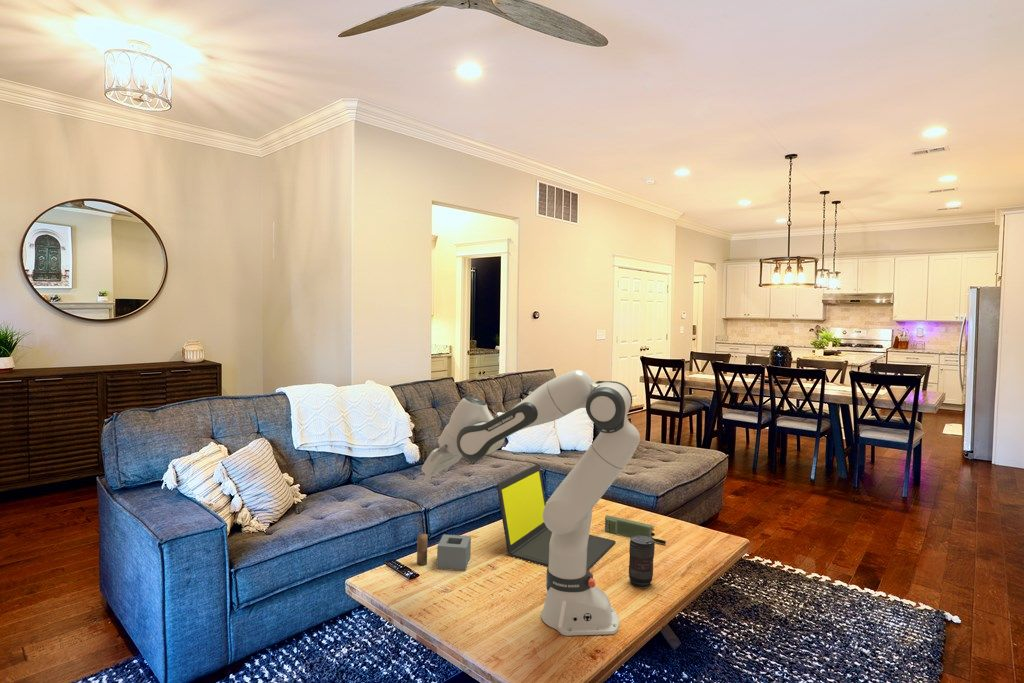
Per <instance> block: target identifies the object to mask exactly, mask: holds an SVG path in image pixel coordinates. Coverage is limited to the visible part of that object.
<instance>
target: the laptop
mask: <svg viewBox="0 0 1024 683" xmlns="http://www.w3.org/2000/svg"><path fill="white" fill-rule="evenodd" d="M496 488H497V494H498V501H499V508H500V514H501V520H502V525H503V526H502V527H503V532H504V537H505V538H504V539H505V544H506V550H507V551H506V552H507V555H508V556H509V557H510V556H511V558H513V557H515V558H514V559H517V558H519V559H518V560H521V559H522V560H521V561H524V560H526V561H525V562H528V561H530V562H529V563H531V562H533V563H532V564H535V563H536V564H535V565H538V564H540V565H539V566H542V565H543V567H545V566H546V568H548V566H549V543H550V539H551V535H552V531H550V530H549V529H548V528H547V527H546V525H545V523H544V520H543V511H544V507H545V505H546V503H547V501H546V494H545V488H544V484H543V477H542V471H541V464H540V463H539V464H538V463H537V464H535V465H532V466H530V467H528V468H526V469H524V470H522V471H519V472H518V473H516V474H514V475H511V476H509V477H508V478H505V479H503V480H502V481H499V482H497V483H496ZM615 545H616V540H613V539H610V538H605V537H601V536H597V535H594V534H589V538H588V546H587V566H586V570H588V571H589V572H590V570H591V569H592V568H593V567H594V566H595V565H596V564H597V563H598V562H599V561H600V560H601V559H602V558H603V557H604V555H605V554H607V552H609V551H610V550H611V549H612V548H613V547H614V546H615Z"/></svg>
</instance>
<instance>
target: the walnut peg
mask: <svg viewBox="0 0 1024 683" xmlns="http://www.w3.org/2000/svg"><path fill="white" fill-rule="evenodd" d="M416 536H417V539H416V541H417V543H416V546H417V547H416V565H417V566H418V567H419V566H420V567H421V566H422V567H424V566H426V565H427V564H428V534H427V533H419V534H417V535H416Z"/></svg>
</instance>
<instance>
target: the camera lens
mask: <svg viewBox="0 0 1024 683" xmlns="http://www.w3.org/2000/svg"><path fill="white" fill-rule="evenodd" d="M652 538H653V537H652ZM652 538H650V537H647V536H640V535H638V536H633V537H631V538H630V540H629V552H628V553H629V561H628V562H629V563H628V564H629V565H628V578H629V583H630V584H631V586H633V587H635V588H638V589H646V588H647V589H648V588H649V587H651V585H652V584H651V583H652V582H653V577H654V557H655V548H656V547H655V546H656V544H655V541H654V540H653V539H652Z"/></svg>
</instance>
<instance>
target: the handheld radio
mask: <svg viewBox="0 0 1024 683" xmlns="http://www.w3.org/2000/svg"><path fill="white" fill-rule="evenodd" d="M655 526H656V525H652V524H648V523H644V522H640V521H639V522H638V521H635V520H630V519H626V518H622V517H618V516H613V515H609V514H606V515H605V517H604V532H606V533H611V534H613V535H618V536H622V537H626V538H630V539H631V537H633V536H638V535H640V536H647V537H650V538H652V539H653V540H654V543H659V544H662V545H666V543H667V541H666V540H663V539H659V538H655V536H656V533H655Z"/></svg>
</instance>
